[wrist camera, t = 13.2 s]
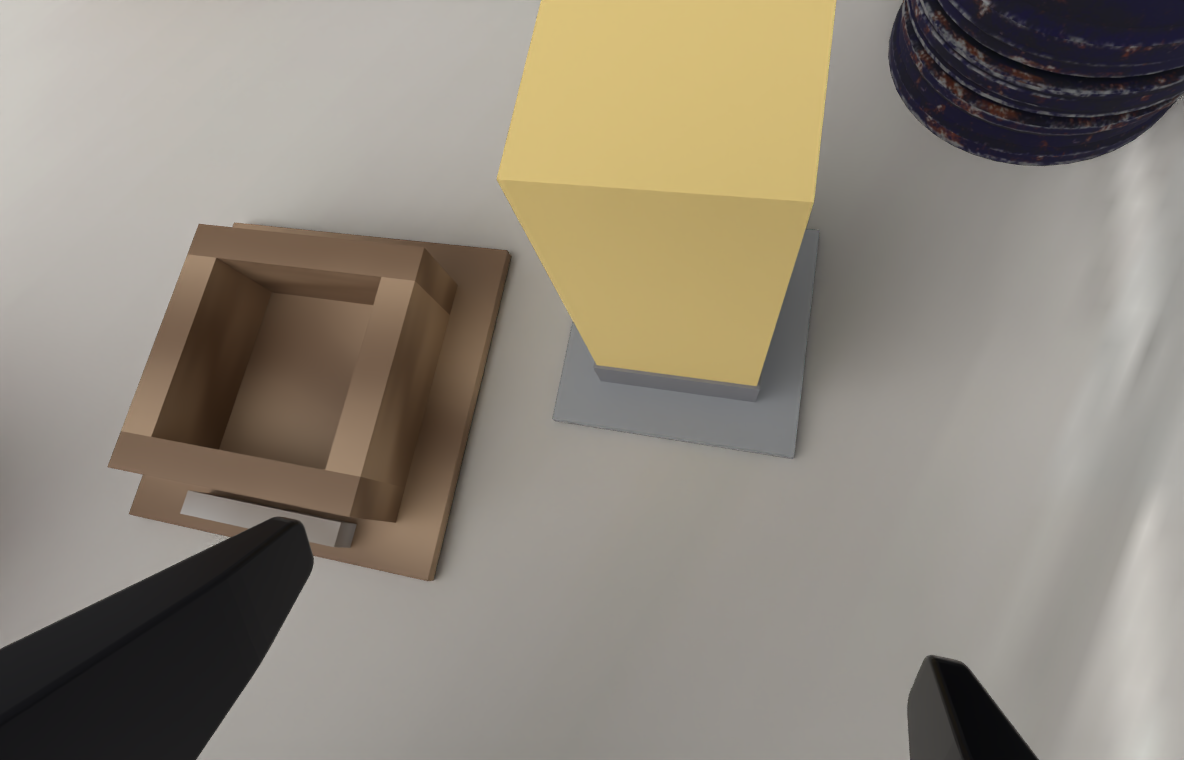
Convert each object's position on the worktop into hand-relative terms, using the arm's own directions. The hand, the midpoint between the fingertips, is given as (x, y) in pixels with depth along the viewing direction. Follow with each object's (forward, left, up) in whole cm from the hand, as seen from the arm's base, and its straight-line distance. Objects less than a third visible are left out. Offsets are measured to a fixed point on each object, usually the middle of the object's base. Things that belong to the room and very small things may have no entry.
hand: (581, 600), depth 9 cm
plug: (+9, 0, -11) cm, 14 cm away
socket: (+4, +13, -12) cm, 18 cm away
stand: (+9, 0, -12) cm, 15 cm away
